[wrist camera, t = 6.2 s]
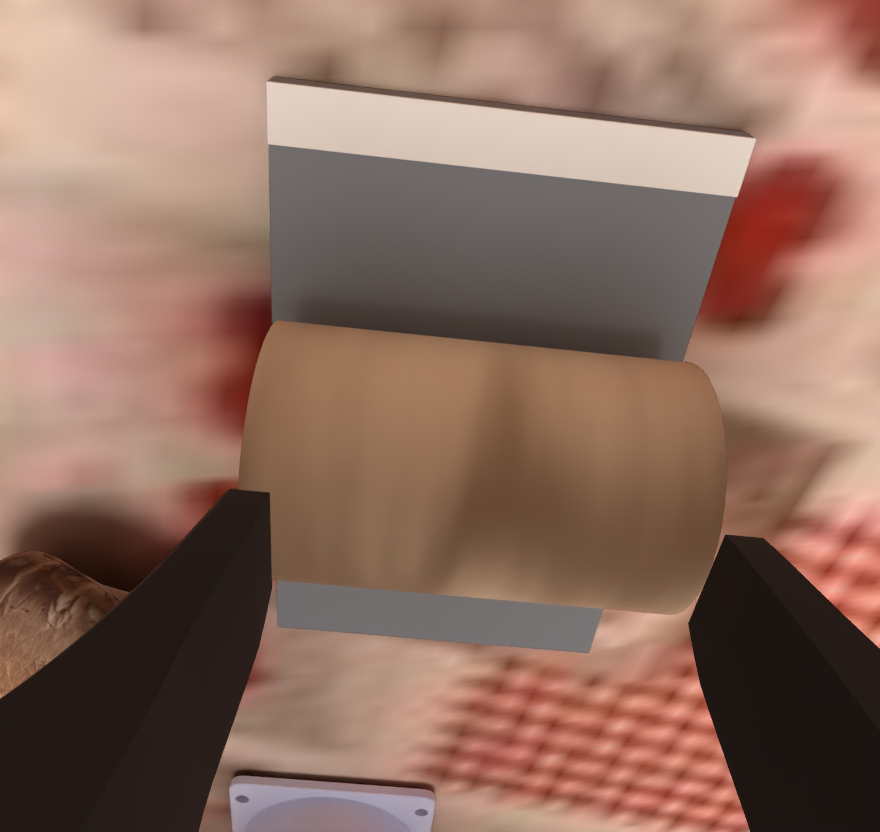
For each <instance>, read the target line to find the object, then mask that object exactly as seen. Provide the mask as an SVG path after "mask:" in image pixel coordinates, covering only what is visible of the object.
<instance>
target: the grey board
mask: <svg viewBox="0 0 880 832" xmlns="http://www.w3.org/2000/svg"><path fill="white" fill-rule="evenodd" d="M266 87H267V139H268V144H269V190H270V243H271V296H272V325H273V324H274V322H276V321H278V320H279V321H289V322H299V323H309V324H319V325H328V326H338V327H348V328H358V329H367V330H377V331H387V332H397V333H406V334H416V335H426V336H435V337H445V338H455V339H465V340H474V341H484V342H494V343H504V344H513V345H523V346H533V347H543V348H552V349H562V350H572V351H582V352H591V353H601V354H611V355H621V356H630V357H640V358H650V359H660V360H669V361H679V362H683V359H684V356H685V353H686V349H687V346H688V343H689V340H690V337H691V334H692V331H693V328H694V325H695V321H696V318H697V315H698V312H699V309H700V306H701V303H702V300H703V297H704V293H705V290H706V287H707V284H708V281H709V278H710V275H711V272H712V269H713V266H714V262H715V259H716V256H717V253H718V250H719V247H720V244H721V241H722V238H723V234H724V231H725V228H726V225H727V222H728V219H729V216H730V213H731V210H732V207H733V203H734V200H735V197H738V194H739V191H740V188H741V185H742V182H743V178H744V175H745V172H746V169H747V166H748V163H749V160H750V157H751V154H752V151H753V148H754V144H755V141H756V138H754V137H753V136H751V135H749V134H748V133H746V132H744V131H735V130H727V129H718V128H710V127H701V126H693V125H684V124H676V123H667V122H658V121H650V120H641V119H633V118H624V117H616V116H607V115H599V114H590V113H581V112H573V111H564V110H556V109H547V108H539V107H530V106H522V105H513V104H505V103H496V102H487V101H479V100H470V99H462V98H453V97H445V96H436V95H428V94H419V93H410V92H402V91H393V90H385V89H376V88H368V87H359V86H351V85H342V84H333V83H325V82H316V81H308V80H299V79H291V78H282V77H272V78H271V79H270V80H268V81H267V82H266ZM602 610H603V609H598V608H587V607H575V606H564V605H552V604H541V603H530V602H518V601H507V600H495V599H484V598H472V597H461V596H449V595H438V594H427V593H415V592H404V591H392V590H381V589H369V588H358V587H346V586H335V585H324V584H312V583H301V582H289V581H278V580H277V615H278V627H285V628H297V629H309V630H321V631H333V632H344V633H356V634H368V635H380V636H392V637H403V638H415V639H427V640H439V641H451V642H463V643H474V644H486V645H498V646H510V647H522V648H533V649H545V650H557V651H569V652H581V653H589V651H590V648H591V644H592V641H593V638H594V635H595V632H596V629H597V626H598V623H599V620H600V617H601V613H602Z"/></svg>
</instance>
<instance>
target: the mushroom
mask: <svg viewBox="0 0 880 832" xmlns="http://www.w3.org/2000/svg"><path fill="white" fill-rule="evenodd" d="M130 592H131V591H130ZM130 592H126V591H122V590H119V589H116V588H112V587H109V586H105V585H102V584H100V583H99V582H97V581H95V580H93V579H91V578H90V577H88V576H86V575H84V574H82V573H81V572H79V571H78V570H76V569H74V568H73V567H71V566H70V565H68V564H67V563H65V562H64V561H62V560H60V559H59V558H56V557H54V556H51V555H49V554H46V553H44V552H41V551H29V552H24V553H18V554H13V555H11V556H9V557H7V558H5V559H3V560H1V561H0V698H2V697H3V696H4V695H6V694H7V693H9V692H10V691H11V690H13V689H14V688H15V687H17V686H18V685H20V684H21V683H22V682H24V681H25V680H27V679H28V678H29V677H31V676H32V675H33V674H35V673H36V672H37V671H38V670H40V669H41V668H42V667H44V666H45V665H46V664H47V663H49V662H50V661H51V660H52V659H54V658H55V657H56V656H58V655H59V654H60V653H61V652H63V651H64V650H65V649H66V648H68V647H69V646H70V645H71V644H72V643H74V642H75V641H76V640H77V639H78V638H80V637H81V636H82V635H83V634H84V633H85V632H87V631H88V630H89V629H90V628H91V627H93V626H94V625H95V624H96V623H97V622H98V621H99V620H100V619H101V618H103V617H104V616H105V615H106V614H107V613H108V612H109V611H110V610H111V609H112V608H113V607H115V606H116V605H117V604H118V603H119V602H120V601H121V600H122V599H123V598H124V597H126V596H127V595H128V594H129V593H130Z"/></svg>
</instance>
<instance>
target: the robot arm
mask: <svg viewBox="0 0 880 832" xmlns="http://www.w3.org/2000/svg"><path fill="white" fill-rule="evenodd" d="M271 590H272V565H271V523H270V492H259V491H248V490H237V489H229V490H228V491H227V492H225V493H224V494H223V495H222V496H221V497H220V498H219V500H218V501H217V502H216V503H215V504H214V505H213V506H212V508H211V509H210V510H209V511H208V512H207V513H206V514H205V516H204V517H203V518H202V519H201V520H200V521H199V522H198V523H197V525H196V526H195V527H194V528H193V529H192V530H191V531H190V532H189V533H188V534H187V535H186V536H185V538H184V539H183V540H182V541H181V542H180V543H179V544H178V545H177V546H176V547H175V548H174V549H173V550H172V551H171V552H170V553H169V554H168V555H167V556H166V557H165V558H164V559H163V560H162V561H161V562H160V563H159V564H158V565H157V566H156V568H155V569H154V570H153V571H152V572H151V573H150V574H149V575H148V576H147V577H146V578H145V579H144V580H143V581H142V582H141V583H140V584H138V585H137V586H136V587H135V588H134V589H133V590H132V591H131V592H130V593H129V594H128V595H127V596H126V597H124V598H123V599H122V600H121V601H120V602H119V603H118V604H117V605H116V606H115V607H113V608H112V609H111V610H110V611H109V612H108V613H107V614H106V615H105V616H104V617H103V618H101V619H100V620H99V621H98V622H97V623H96V624H95V625H94V626H93V627H91V628H90V629H89V630H88V631H87V632H85V633H84V634H83V635H82V636H81V637H80V638H78V639H77V640H76V641H75V642H74V643H72V644H71V645H70V646H69V647H68V648H66V649H65V650H64V651H63V652H61V653H60V654H59V655H58V656H56V657H55V658H54V659H52V660H51V661H50V662H49V663H47V664H46V665H45V666H44V667H42V668H41V669H40V670H38V671H37V672H36V673H35V674H33V675H32V676H31V677H29V678H28V679H27V680H25V681H24V682H22V683H21V684H20V685H18V686H17V687H15V688H14V689H13V690H11V691H10V692H9V693H7V694H6V695H4V696H3V697H2V698H0V832H199V827H200V823H201V819H202V815H203V812H204V809H205V805H206V802H207V799H208V795H209V792H210V789H211V785H212V782H213V779H214V776H215V774H216V771H217V768H218V765H219V762H220V759H221V756H222V753H223V750H224V748H225V745H226V742H227V739H228V736H229V733H230V730H231V727H232V724H233V722H234V719H235V716H236V713H237V710H238V707H239V704H240V701H241V698H242V696H243V693H244V690H245V687H246V684H247V681H248V678H249V675H250V672H251V669H252V666H253V663H254V660H255V657H256V654H257V651H258V648H259V645H260V640H261V636H262V631H263V627H264V623H265V618H266V613H267V609H268V604H269V599H270V595H271ZM688 625H689V630H690V636H691V641H692V646H693V652H694V657H695V662H696V667H697V671H698V676H699V680H700V685H701V688H702V691H703V694H704V697H705V700H706V703H707V706H708V709H709V712H710V715H711V718H712V721H713V724H714V727H715V730H716V733H717V736H718V739H719V742H720V745H721V747H722V750H723V753H724V756H725V759H726V762H727V765H728V768H729V771H730V774H731V776H732V779H733V782H734V785H735V788H736V791H737V794H738V797H739V800H740V802H741V805H742V808H743V811H744V814H745V817H746V820H747V823H748V826H749V829H750V832H880V649H879V648H878V647H877V646H876V645H875V644H874V643H873V642H872V641H871V640H870V639H869V638H868V637H866V636H865V635H864V634H863V633H862V632H861V631H860V630H859V629H858V628H857V627H856V626H855V625H854V624H853V623H852V622H851V621H850V620H848V619H847V618H846V617H845V616H844V615H843V614H842V613H841V612H840V611H839V610H838V609H837V608H836V607H835V606H834V605H833V604H832V603H831V602H830V601H829V600H828V599H827V598H826V597H825V596H824V595H823V594H822V593H821V592H820V591H818V590H817V589H816V588H815V587H814V586H813V585H812V584H811V583H810V582H809V581H808V580H807V579H806V578H805V577H804V576H803V575H802V574H801V573H800V572H799V571H798V570H797V569H796V568H795V567H794V566H793V565H792V564H791V563H790V562H789V561H788V560H786V559H785V558H784V557H783V556H782V555H781V554H780V553H779V552H778V551H777V550H776V549H775V548H774V547H773V546H771V545H770V544H769V543H768V542H767V541H766V540H765V539H763V538H756V537H745V536H735V535H725V537H724V539H723V542H722V544H721V546H720V549H719V551H718V554H717V556H716V558H715V561H714V563H713V566H712V568H711V570H710V573H709V575H708V578H707V580H706V582H705V585H704V587H703V590H702V592H701V594H700V597H699V599H698V602H697V604H696V606H695V609H694V611H693V614H692V616H691V618H690V621H689V623H688ZM229 795H230V807H231V818H232V830H233V832H431V827H432V821H433V816H434V810H435V802H436V797H435V794H434V793H433V792H432V791H430V790H426V789H416V788H403V787H390V786H376V785H363V784H350V783H337V782H324V781H310V780H297V779H284V778H271V777H258V776H244V775H243V776H237V777H234V778H233V779H232V781H231V784H230V788H229Z"/></svg>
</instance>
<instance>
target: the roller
mask: <svg viewBox="0 0 880 832" xmlns="http://www.w3.org/2000/svg"><path fill="white" fill-rule="evenodd" d="M726 474H727V463H726V443H725V432H724V426H723V419H722V414H721V410H720V406H719V402H718V399H717V396H716V393H715V390H714V388H713V386H712V384H711V382H710V380H709V378H708V377H707V375H706V374H705V372H704V371H703V370H702V369H701V368H700V367H699V366H697V365H695V364H693V363H689V362H679V361H669V360H660V359H650V358H640V357H630V356H621V355H611V354H601V353H591V352H582V351H572V350H562V349H552V348H543V347H533V346H523V345H513V344H504V343H494V342H484V341H474V340H465V339H455V338H445V337H435V336H426V335H416V334H406V333H397V332H387V331H377V330H367V329H358V328H348V327H338V326H328V325H319V324H309V323H299V322H289V321H279V320H278V321H276V322H274V324H273V325H272V326H271V327H270V329H269V331H268V333H267V335H266V337H265V340H264V342H263V345H262V348H261V351H260V353H259V357H258V360H257V364H256V368H255V371H254V376H253V380H252V384H251V389H250V394H249V400H248V405H247V411H246V417H245V424H244V431H243V439H242V448H241V457H240V469H239V483H238V490H248V491H259V492H270V523H271V565H272V580H278V581H289V582H301V583H312V584H324V585H335V586H346V587H358V588H369V589H381V590H392V591H404V592H415V593H427V594H438V595H449V596H461V597H472V598H484V599H495V600H507V601H518V602H530V603H541V604H552V605H564V606H575V607H587V608H598V609H610V610H621V611H632V612H644V613H655V614H667V615H674V614H678V613H680V612H682V611H684V610H685V609H686V608H688V607H689V606H690V605H691V603H692V602H693V601H694V600H695V599H696V597H697V595H698V594H699V592H700V591H701V589H702V587H703V585H704V583H705V581H706V579H707V577H708V574H709V571H710V568H711V566H712V563H713V560H714V556H715V553H716V549H717V546H718V541H719V536H720V532H721V527H722V520H723V513H724V506H725V495H726Z"/></svg>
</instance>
